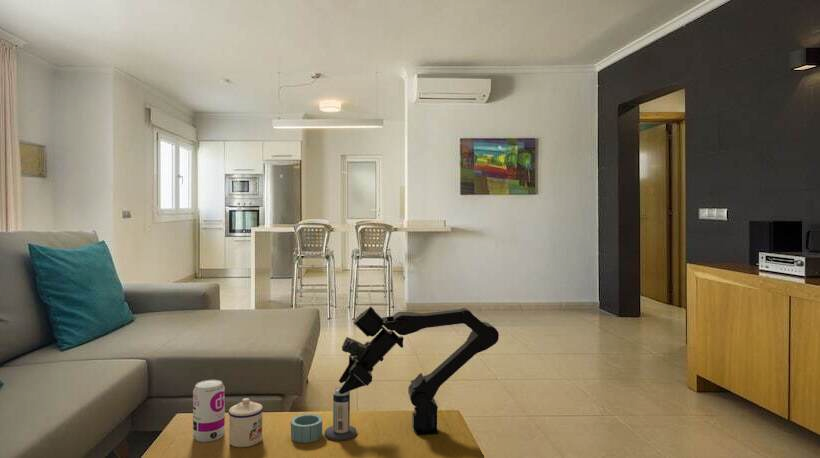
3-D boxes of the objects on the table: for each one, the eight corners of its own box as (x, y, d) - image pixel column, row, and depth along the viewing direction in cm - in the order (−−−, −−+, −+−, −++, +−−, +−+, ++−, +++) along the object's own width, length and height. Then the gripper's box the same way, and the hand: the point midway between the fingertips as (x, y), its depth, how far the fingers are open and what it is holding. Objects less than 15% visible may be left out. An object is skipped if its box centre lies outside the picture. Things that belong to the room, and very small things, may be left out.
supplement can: (231, 433, 145) (230, 381, 144) (208, 445, 137) (208, 390, 137) (209, 428, 148) (209, 377, 148) (186, 439, 141) (186, 386, 140)
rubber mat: (355, 426, 150) (355, 423, 150) (357, 439, 141) (357, 436, 141) (324, 428, 149) (324, 425, 149) (324, 442, 140) (324, 439, 140)
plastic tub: (322, 428, 148) (322, 413, 148) (322, 441, 140) (322, 425, 140) (292, 430, 147) (292, 415, 147) (290, 444, 138) (290, 427, 138)
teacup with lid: (254, 449, 135) (254, 406, 135) (222, 447, 136) (222, 404, 136) (272, 430, 147) (272, 390, 147) (242, 428, 148) (242, 389, 148)
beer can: (353, 431, 145) (353, 389, 145) (339, 436, 142) (340, 393, 141) (342, 426, 148) (342, 385, 148) (329, 431, 145) (329, 389, 145)
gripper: (357, 321, 154) (320, 359, 153) (359, 336, 136) (317, 378, 135) (383, 346, 155) (347, 383, 154) (389, 364, 137) (348, 406, 136)
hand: (339, 387), depth 145 cm, fingers open, 9 cm apart
